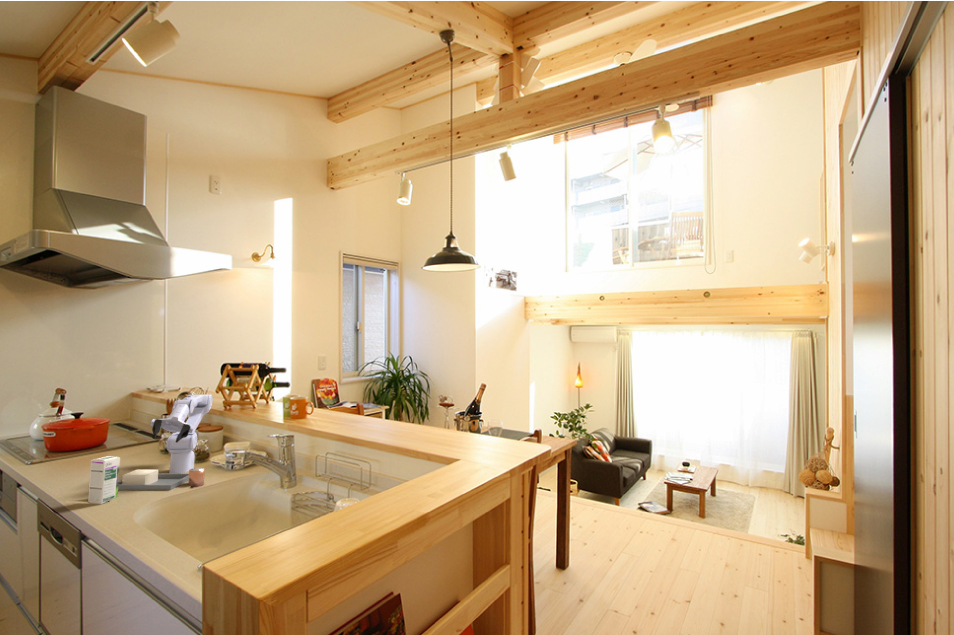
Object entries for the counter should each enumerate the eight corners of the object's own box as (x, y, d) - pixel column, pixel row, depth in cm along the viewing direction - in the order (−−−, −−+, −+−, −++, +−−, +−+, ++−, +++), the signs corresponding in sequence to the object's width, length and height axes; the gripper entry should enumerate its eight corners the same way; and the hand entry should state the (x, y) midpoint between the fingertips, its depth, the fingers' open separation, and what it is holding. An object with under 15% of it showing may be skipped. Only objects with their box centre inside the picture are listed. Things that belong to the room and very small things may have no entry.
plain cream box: (135, 480, 180) (136, 469, 180) (157, 480, 181) (158, 469, 181) (121, 486, 172) (122, 475, 172) (144, 486, 173) (145, 475, 173)
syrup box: (101, 504, 155) (105, 460, 156) (87, 503, 156) (90, 458, 157) (117, 499, 160) (121, 456, 161) (103, 497, 162) (107, 455, 163)
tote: (137, 479, 184) (138, 473, 184) (193, 480, 185) (193, 473, 186) (109, 492, 168) (109, 485, 168) (170, 492, 170) (170, 485, 170)
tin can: (192, 483, 181) (193, 467, 182) (206, 483, 182) (207, 467, 182) (185, 487, 176) (186, 470, 176) (199, 487, 176) (200, 470, 177)
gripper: (158, 406, 184) (145, 425, 172) (199, 414, 189) (189, 433, 177) (154, 421, 186) (141, 441, 173) (194, 428, 191) (185, 448, 179)
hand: (165, 438), depth 175 cm, fingers open, 7 cm apart
